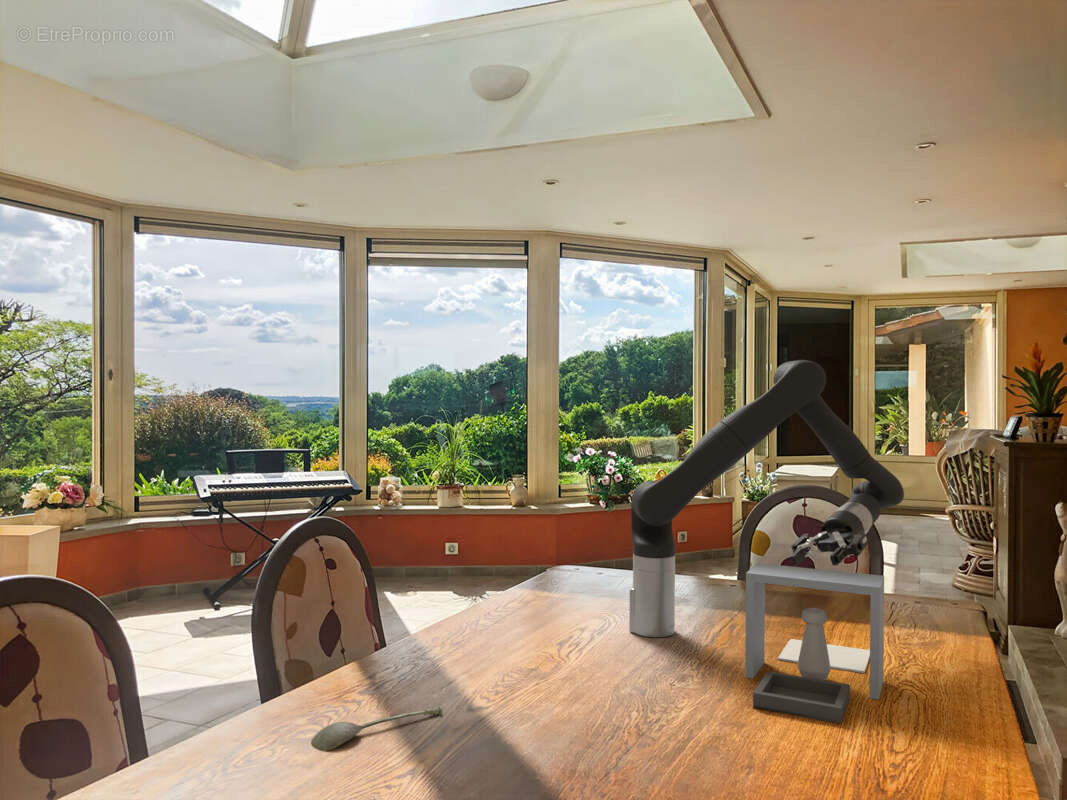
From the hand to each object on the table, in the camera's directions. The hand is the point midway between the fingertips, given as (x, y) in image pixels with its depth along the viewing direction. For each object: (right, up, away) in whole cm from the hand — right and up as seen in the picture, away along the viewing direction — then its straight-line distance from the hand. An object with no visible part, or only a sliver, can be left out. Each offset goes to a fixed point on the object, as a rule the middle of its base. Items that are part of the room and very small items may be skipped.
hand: (813, 561), depth 159 cm
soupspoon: (-80, -20, -33) cm, 89 cm away
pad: (+3, -20, +3) cm, 20 cm away
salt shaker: (-4, -20, -10) cm, 23 cm away
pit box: (-10, -20, -22) cm, 31 cm away
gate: (-4, -20, -10) cm, 23 cm away
